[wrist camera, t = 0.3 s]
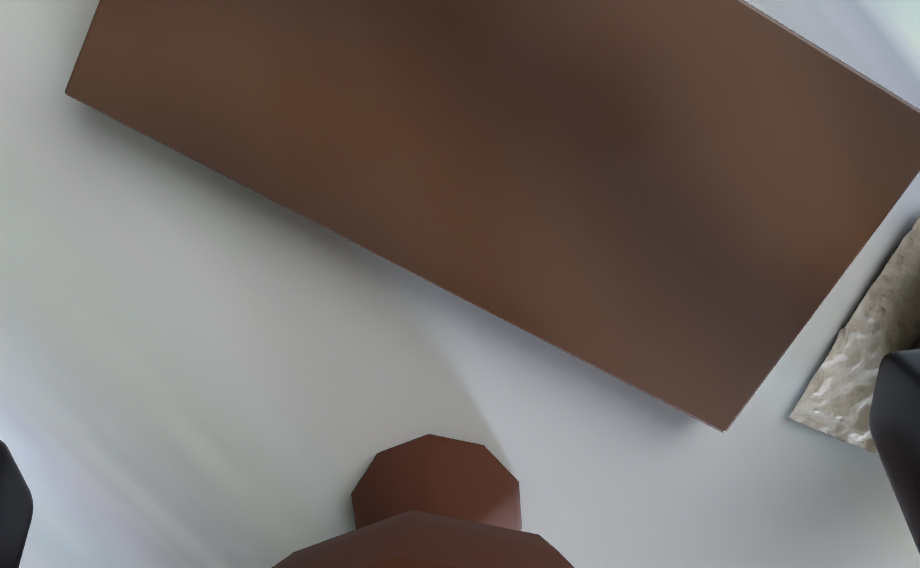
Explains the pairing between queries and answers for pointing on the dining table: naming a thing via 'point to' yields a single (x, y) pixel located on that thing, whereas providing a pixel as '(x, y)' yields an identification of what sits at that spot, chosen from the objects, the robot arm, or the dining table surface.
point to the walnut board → (542, 158)
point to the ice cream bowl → (433, 514)
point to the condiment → (866, 350)
